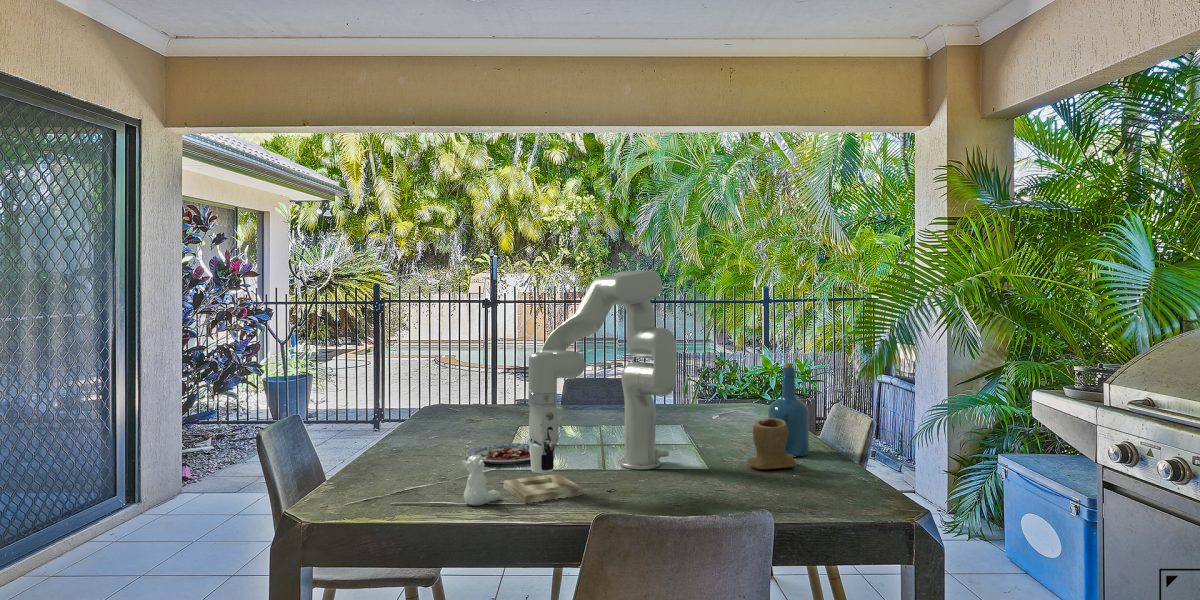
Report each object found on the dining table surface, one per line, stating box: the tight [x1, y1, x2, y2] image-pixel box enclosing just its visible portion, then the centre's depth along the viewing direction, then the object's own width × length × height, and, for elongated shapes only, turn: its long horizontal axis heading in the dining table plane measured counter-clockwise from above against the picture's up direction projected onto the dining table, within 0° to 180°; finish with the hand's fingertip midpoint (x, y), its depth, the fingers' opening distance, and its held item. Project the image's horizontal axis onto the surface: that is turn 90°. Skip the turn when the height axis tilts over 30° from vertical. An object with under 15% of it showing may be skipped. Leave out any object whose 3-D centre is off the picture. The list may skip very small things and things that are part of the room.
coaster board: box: [502, 473, 584, 505], centre depth 180 cm, size 16×16×2 cm
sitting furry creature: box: [461, 455, 502, 506], centre depth 171 cm, size 10×9×12 cm
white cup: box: [529, 442, 556, 474], centre depth 180 cm, size 7×7×7 cm
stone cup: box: [746, 417, 797, 470], centre depth 206 cm, size 15×12×15 cm
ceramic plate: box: [465, 442, 531, 465], centre depth 219 cm, size 26×26×3 cm
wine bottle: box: [767, 362, 810, 458], centre depth 226 cm, size 14×13×30 cm
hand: (542, 466), depth 180 cm, fingers closed on white cup, 6 cm apart
